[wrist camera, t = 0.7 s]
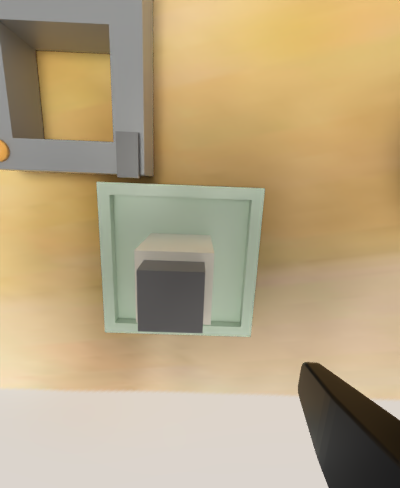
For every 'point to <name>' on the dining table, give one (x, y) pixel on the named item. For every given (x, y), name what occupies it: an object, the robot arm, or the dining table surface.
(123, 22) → the grey socket board
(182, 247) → the plug
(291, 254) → the dining table surface
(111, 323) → the parts tray
